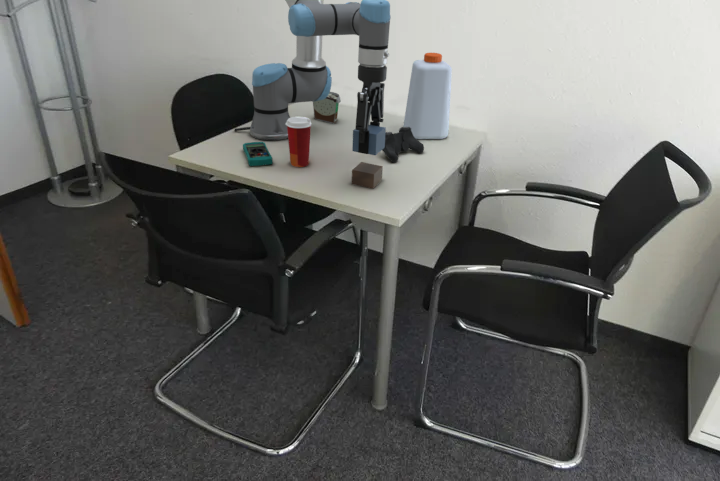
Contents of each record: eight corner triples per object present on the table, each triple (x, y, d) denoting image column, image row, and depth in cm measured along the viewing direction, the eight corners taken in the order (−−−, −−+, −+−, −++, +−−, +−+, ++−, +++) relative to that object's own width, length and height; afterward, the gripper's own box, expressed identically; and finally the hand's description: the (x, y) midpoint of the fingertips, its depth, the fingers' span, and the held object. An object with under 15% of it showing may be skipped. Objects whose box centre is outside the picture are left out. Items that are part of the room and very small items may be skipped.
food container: (346, 120, 203) (347, 94, 198) (337, 124, 198) (338, 98, 193) (320, 114, 208) (320, 89, 203) (311, 118, 204) (311, 92, 199)
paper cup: (314, 160, 166) (313, 116, 159) (309, 169, 160) (309, 124, 153) (289, 158, 167) (288, 115, 160) (284, 167, 160) (282, 122, 153)
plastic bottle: (440, 126, 201) (449, 50, 187) (450, 140, 188) (461, 59, 174) (401, 126, 199) (407, 49, 185) (409, 140, 186) (416, 58, 172)
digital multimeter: (249, 167, 159) (248, 158, 158) (242, 150, 171) (242, 142, 170) (273, 165, 161) (273, 156, 160) (265, 149, 173) (264, 140, 172)
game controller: (412, 155, 181) (404, 126, 179) (426, 151, 176) (418, 121, 174) (379, 166, 171) (370, 136, 169) (393, 162, 166) (384, 131, 164)
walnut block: (351, 184, 152) (351, 169, 149) (360, 175, 157) (361, 161, 155) (373, 188, 149) (374, 174, 147) (381, 180, 155) (382, 166, 153)
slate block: (352, 151, 146) (352, 130, 143) (362, 143, 152) (362, 123, 149) (375, 155, 144) (376, 134, 141) (384, 147, 150) (385, 127, 147)
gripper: (371, 73, 127) (367, 162, 139) (399, 59, 143) (393, 140, 155) (343, 70, 130) (341, 157, 141) (373, 56, 146) (369, 136, 157)
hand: (368, 148), depth 148 cm, fingers closed on slate block, 7 cm apart
